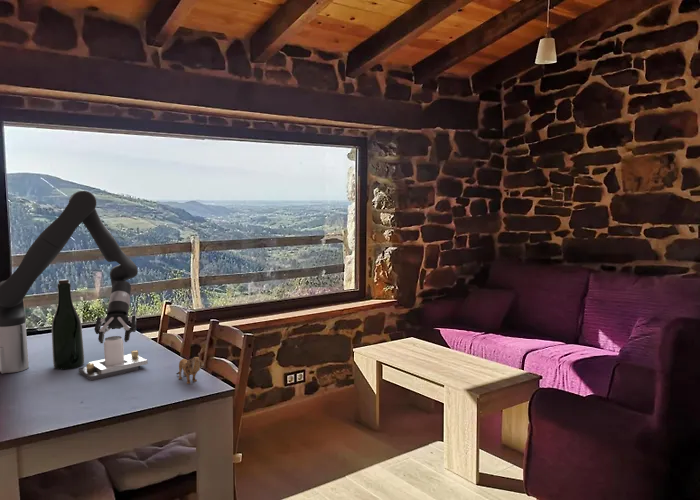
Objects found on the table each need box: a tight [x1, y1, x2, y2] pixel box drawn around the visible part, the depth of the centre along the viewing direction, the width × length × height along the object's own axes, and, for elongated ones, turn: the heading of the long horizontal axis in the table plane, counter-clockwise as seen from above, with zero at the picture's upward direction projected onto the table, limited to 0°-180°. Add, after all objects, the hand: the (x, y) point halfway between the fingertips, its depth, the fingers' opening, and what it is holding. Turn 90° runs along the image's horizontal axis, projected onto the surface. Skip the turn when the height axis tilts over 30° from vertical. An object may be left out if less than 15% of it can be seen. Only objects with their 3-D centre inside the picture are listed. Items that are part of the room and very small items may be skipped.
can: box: [103, 335, 125, 367], centre depth 200 cm, size 6×6×12 cm
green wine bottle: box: [51, 278, 85, 370], centre depth 205 cm, size 10×10×33 cm
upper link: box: [88, 349, 148, 374], centre depth 201 cm, size 16×13×4 cm
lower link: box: [78, 362, 139, 381], centre depth 199 cm, size 16×13×4 cm
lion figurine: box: [175, 356, 205, 385], centre depth 188 cm, size 15×5×9 cm, turn 49°
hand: (113, 341), depth 202 cm, fingers open, 8 cm apart
